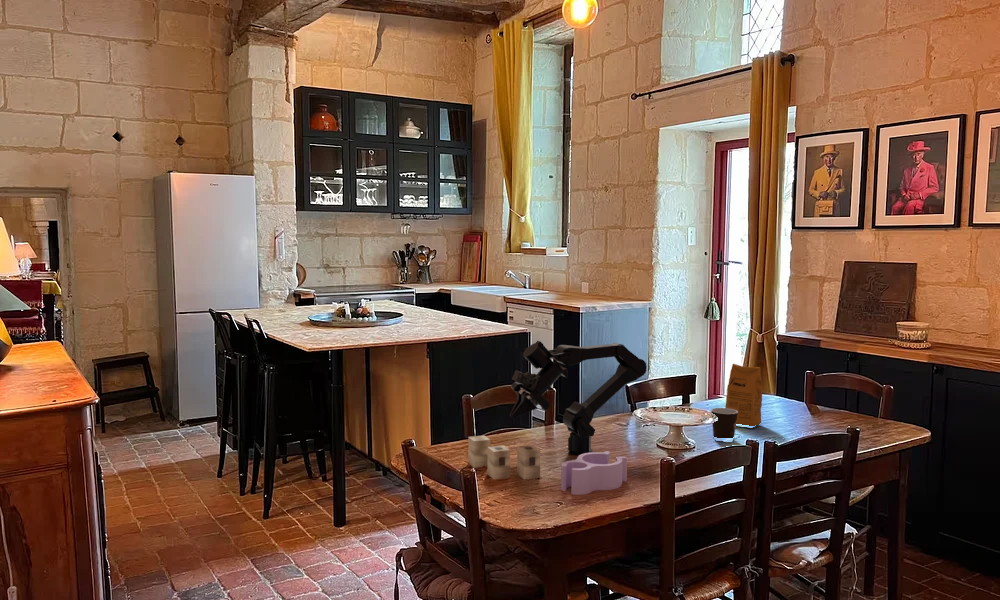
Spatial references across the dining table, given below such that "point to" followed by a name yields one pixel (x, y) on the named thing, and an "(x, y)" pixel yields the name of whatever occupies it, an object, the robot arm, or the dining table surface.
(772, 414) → the dining table surface
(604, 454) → the clip
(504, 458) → the marked block 1
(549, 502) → the dining table surface
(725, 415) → the coffee mug
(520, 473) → the marked block 2
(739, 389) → the coffee package
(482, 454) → the plain block
